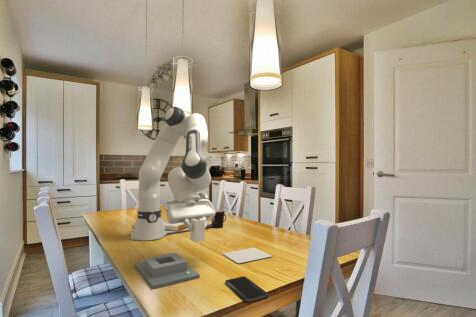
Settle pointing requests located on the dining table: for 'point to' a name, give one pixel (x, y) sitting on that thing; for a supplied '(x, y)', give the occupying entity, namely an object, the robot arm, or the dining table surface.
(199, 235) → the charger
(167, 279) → the power dock
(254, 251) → the paper stack
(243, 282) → the phone
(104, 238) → the dining table surface
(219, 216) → the coffee mug
